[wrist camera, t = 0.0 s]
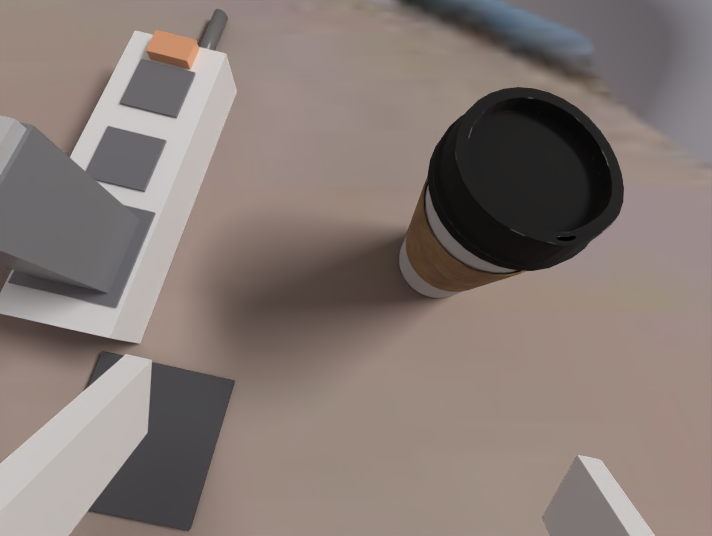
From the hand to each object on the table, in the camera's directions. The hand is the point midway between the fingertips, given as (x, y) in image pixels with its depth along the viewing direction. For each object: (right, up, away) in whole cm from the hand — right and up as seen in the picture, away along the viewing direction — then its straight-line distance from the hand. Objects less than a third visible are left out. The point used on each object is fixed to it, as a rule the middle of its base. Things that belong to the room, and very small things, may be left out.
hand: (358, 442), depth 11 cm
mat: (-14, -6, +13) cm, 20 cm away
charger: (-17, +7, +12) cm, 22 cm away
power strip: (-15, +14, +19) cm, 28 cm away
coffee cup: (+6, +6, +19) cm, 20 cm away
